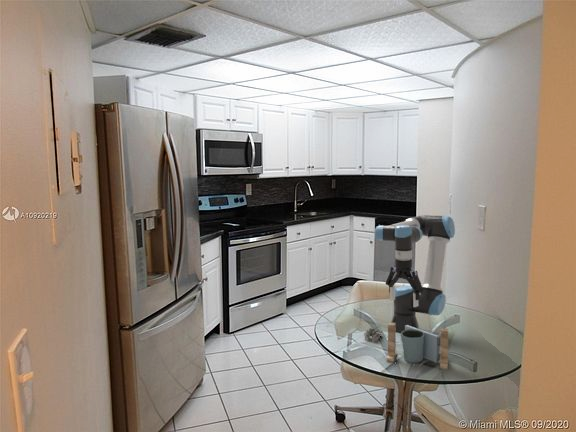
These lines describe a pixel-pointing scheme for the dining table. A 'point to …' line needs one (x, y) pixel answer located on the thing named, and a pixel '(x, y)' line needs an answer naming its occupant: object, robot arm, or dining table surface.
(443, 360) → the door frame
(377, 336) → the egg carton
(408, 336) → the grey blue cup
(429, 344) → the door
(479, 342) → the dining table surface
